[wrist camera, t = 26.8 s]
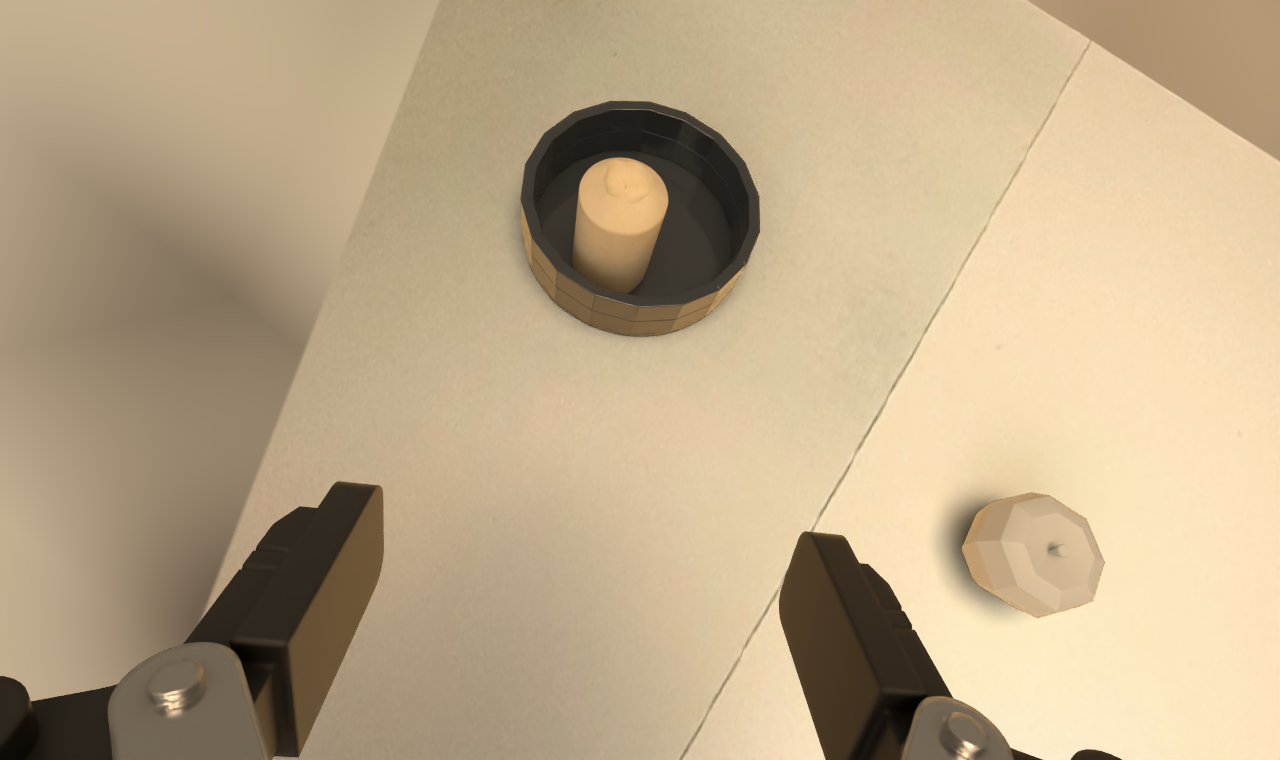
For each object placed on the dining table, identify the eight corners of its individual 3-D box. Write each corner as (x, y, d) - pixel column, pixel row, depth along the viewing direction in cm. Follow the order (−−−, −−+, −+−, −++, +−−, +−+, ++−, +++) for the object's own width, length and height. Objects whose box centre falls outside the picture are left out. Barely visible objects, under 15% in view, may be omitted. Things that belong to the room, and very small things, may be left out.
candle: (598, 310, 45) (614, 235, 35) (557, 251, 46) (562, 162, 36) (660, 276, 46) (691, 196, 37) (619, 220, 47) (639, 128, 38)
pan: (612, 380, 44) (620, 354, 39) (479, 204, 46) (472, 160, 42) (781, 267, 49) (807, 232, 44) (652, 115, 52) (663, 68, 47)
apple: (937, 605, 42) (1005, 607, 36) (937, 490, 45) (1000, 473, 39) (1045, 626, 43) (1131, 631, 36) (1039, 512, 45) (1118, 499, 39)
